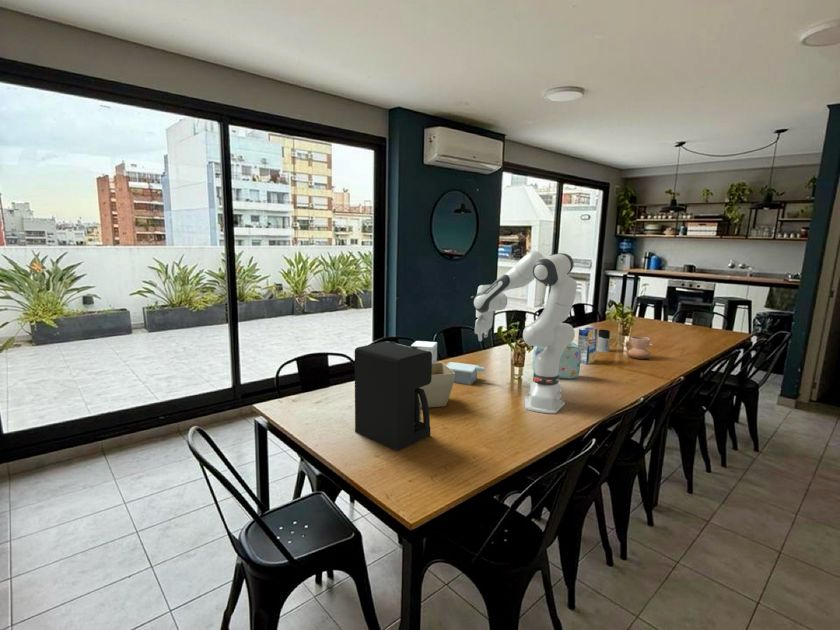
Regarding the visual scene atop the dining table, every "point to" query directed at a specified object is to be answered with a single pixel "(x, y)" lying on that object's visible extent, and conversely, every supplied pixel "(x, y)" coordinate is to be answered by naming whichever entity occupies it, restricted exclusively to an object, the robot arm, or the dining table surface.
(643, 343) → the ceramic jug
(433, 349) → the supplement box
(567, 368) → the lunch box
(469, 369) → the lid
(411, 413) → the coffee maker
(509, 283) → the robot arm
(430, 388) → the flower pot
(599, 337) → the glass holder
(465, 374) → the tub
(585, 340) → the beverage box
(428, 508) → the dining table surface
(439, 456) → the dining table surface
